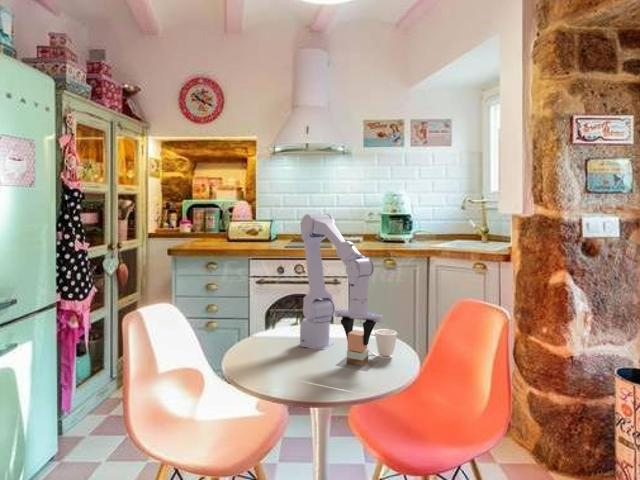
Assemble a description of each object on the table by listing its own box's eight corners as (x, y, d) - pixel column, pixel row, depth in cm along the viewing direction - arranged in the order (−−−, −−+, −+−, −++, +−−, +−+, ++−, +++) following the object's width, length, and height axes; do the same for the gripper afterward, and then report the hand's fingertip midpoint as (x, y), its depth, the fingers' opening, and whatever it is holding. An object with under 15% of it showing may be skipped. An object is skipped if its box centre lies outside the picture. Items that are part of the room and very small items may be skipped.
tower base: (346, 364, 142) (346, 357, 142) (352, 359, 146) (353, 352, 146) (362, 366, 140) (362, 360, 139) (368, 361, 144) (368, 355, 144)
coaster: (335, 366, 141) (335, 365, 141) (348, 356, 150) (348, 355, 150) (367, 372, 136) (367, 371, 136) (378, 361, 145) (378, 360, 145)
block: (347, 349, 141) (347, 333, 141) (353, 345, 145) (353, 329, 145) (361, 352, 139) (362, 335, 139) (367, 348, 143) (367, 331, 143)
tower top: (346, 357, 142) (346, 351, 141) (353, 352, 146) (353, 346, 146) (362, 360, 139) (362, 353, 139) (368, 355, 144) (368, 348, 144)
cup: (395, 361, 146) (396, 335, 145) (363, 358, 148) (363, 333, 147) (397, 354, 152) (398, 329, 152) (366, 351, 155) (367, 327, 154)
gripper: (331, 298, 141) (330, 343, 142) (377, 303, 134) (376, 350, 136) (340, 294, 147) (339, 337, 148) (385, 299, 141) (384, 344, 142)
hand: (357, 343), depth 142 cm, fingers closed on block, 4 cm apart
